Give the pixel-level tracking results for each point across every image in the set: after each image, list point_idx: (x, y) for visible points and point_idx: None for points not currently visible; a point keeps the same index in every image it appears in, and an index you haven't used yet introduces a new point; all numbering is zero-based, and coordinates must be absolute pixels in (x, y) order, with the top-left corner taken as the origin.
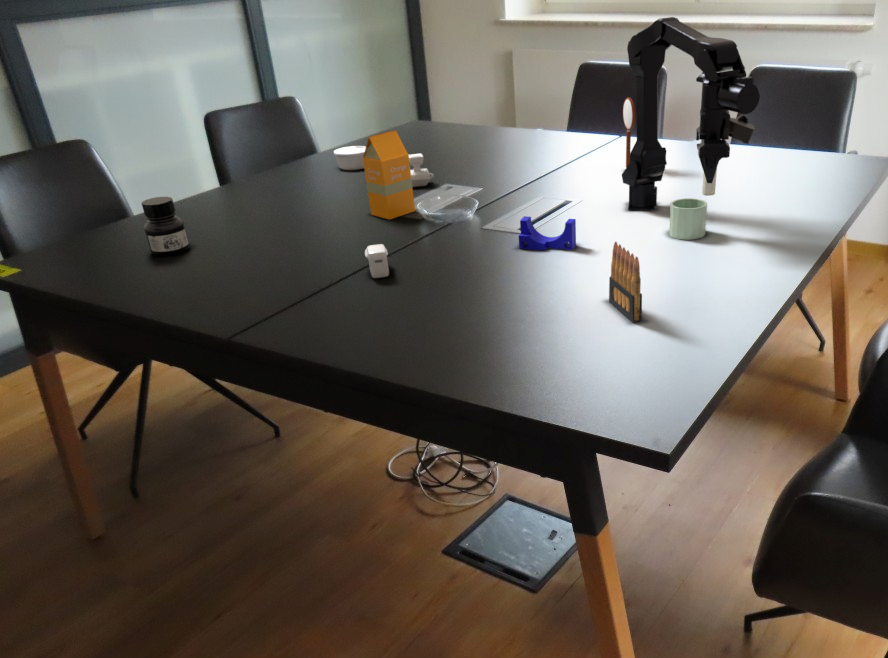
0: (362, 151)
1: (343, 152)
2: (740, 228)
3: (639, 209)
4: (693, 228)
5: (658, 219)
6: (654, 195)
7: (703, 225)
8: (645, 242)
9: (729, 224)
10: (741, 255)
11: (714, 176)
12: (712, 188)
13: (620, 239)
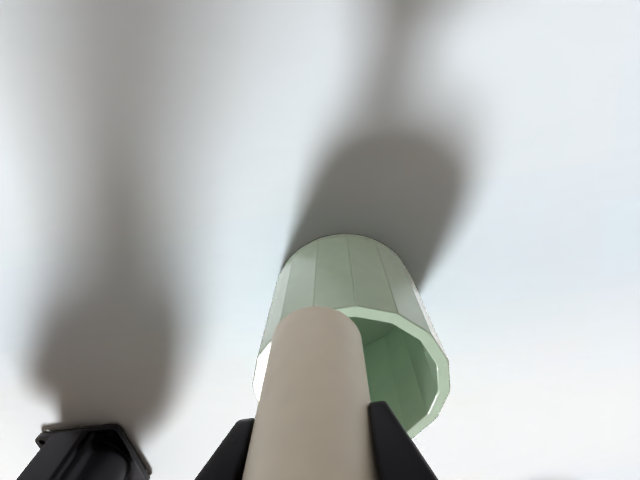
0: None
1: None
2: (219, 91)
3: (136, 457)
4: (416, 291)
5: (205, 397)
6: (66, 468)
7: (379, 259)
8: (448, 396)
9: (177, 152)
10: (619, 33)
11: (356, 438)
12: (354, 353)
13: (424, 454)
